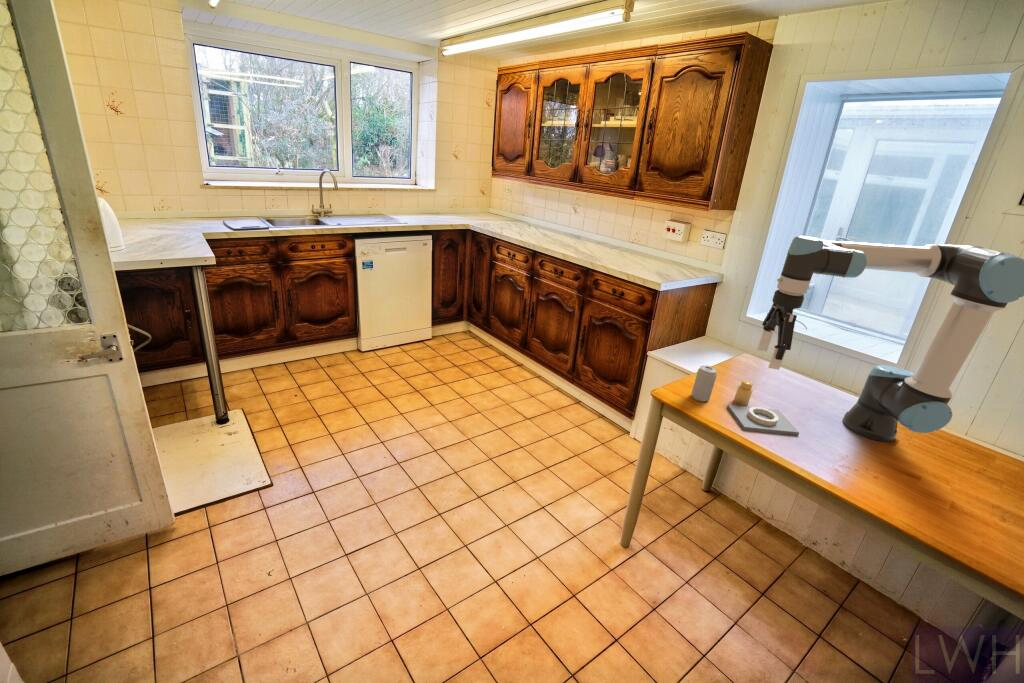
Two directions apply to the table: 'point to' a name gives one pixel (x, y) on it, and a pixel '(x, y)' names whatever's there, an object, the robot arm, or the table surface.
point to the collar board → (760, 427)
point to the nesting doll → (743, 393)
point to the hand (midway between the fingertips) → (767, 359)
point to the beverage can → (704, 383)
